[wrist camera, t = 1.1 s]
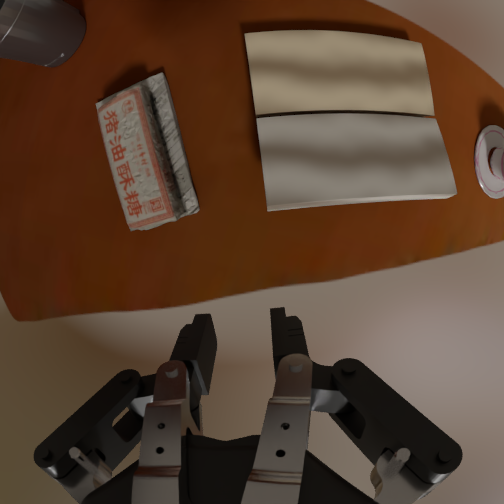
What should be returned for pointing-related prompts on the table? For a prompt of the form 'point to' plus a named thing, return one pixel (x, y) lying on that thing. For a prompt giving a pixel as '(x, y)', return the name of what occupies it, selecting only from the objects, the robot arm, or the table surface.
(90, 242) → the table surface
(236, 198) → the table surface
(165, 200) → the packaged product
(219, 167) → the table surface
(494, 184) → the teacup
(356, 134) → the whitewashed plank
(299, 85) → the oak plank
